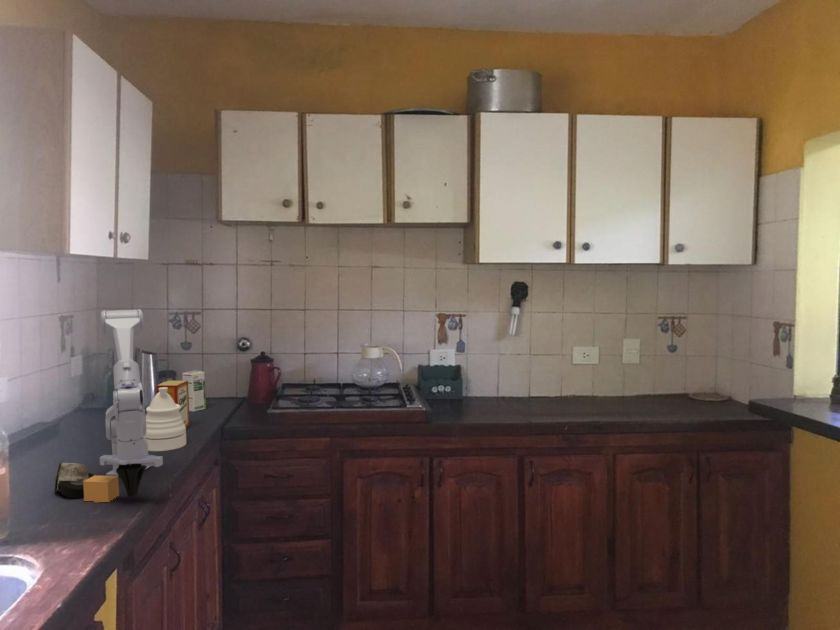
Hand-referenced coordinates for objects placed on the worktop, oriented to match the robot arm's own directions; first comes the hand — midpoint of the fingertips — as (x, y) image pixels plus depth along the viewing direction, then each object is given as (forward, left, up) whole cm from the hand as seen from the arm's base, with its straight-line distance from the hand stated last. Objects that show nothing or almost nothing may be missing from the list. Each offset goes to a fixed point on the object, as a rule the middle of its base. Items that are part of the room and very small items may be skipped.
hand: (132, 495), depth 159 cm
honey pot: (-46, -16, -1) cm, 49 cm away
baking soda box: (-65, -22, -1) cm, 68 cm away
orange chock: (0, -8, -1) cm, 8 cm away
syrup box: (-94, -28, -1) cm, 98 cm away
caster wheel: (-4, -17, -2) cm, 17 cm away
